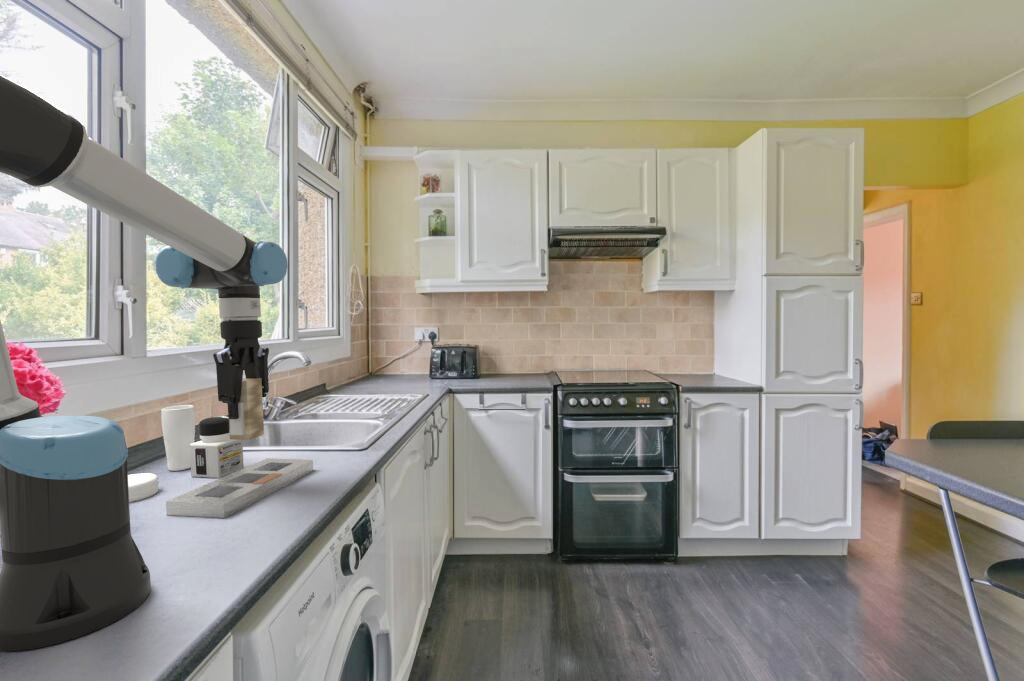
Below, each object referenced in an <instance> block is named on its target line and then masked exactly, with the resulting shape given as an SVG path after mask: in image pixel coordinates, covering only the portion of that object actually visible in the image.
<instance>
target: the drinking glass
mask: <svg viewBox="0 0 1024 681" xmlns="http://www.w3.org/2000/svg"><path fill="white" fill-rule="evenodd" d="M160 411H161V412H160V417H161V418H160V422H161V429H162V436H163V443H164V450H165V456H166V462H167V466H166V467H167V470H169V471H170V472H179V471H185V470H188V469H191V460H190V444H191V443H195V434H196V412H195V405H193V404H180V405H171V406H167V407H163V408H161V410H160Z"/></svg>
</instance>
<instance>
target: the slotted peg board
mask: <svg viewBox="0 0 1024 681" xmlns="http://www.w3.org/2000/svg"><path fill="white" fill-rule="evenodd" d="M313 471H314V460H313V459H296V458H295V459H292V458H291V459H290V458H264V459H262V460H260V461H258V462H255V463H254V464H251V465H249V466H248V465H247V466H246V467H243V469H240V470H238V471H236V472H233V473H231V474H228V475H226V476H223V477H221V478H217V479H215V480H213V481H210V482H208V483H206V484H204V485H201V486H199V487H197V488H194V489H192V490H189V491H187V492H185V493H182V494H181V495H178V496H175V497H172V498H171V499H169V500H166V501H165V509H166V510H165V511H166V512H165V513H166V515H167V516H178V517H179V516H181V517H196V518H197V517H199V518H212V519H213V518H216V519H217V518H218V519H225V518H227V517H229V516H231V515H232V514H235V513H236V512H238V511H241V510H242V509H244V508H246V507H247V506H250V505H252V504H253V503H255V502H257V501H259V500H260V499H262V498H264V497H267V496H269V495H270V494H272V493H274V492H276V491H277V490H279V489H281V488H284V487H286V486H287V485H288V484H291V483H293V482H295V481H296V480H297V479H300V478H302V477H303V476H306V475H307V474H310V473H312V472H313Z"/></svg>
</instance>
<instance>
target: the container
mask: <svg viewBox="0 0 1024 681" xmlns="http://www.w3.org/2000/svg"><path fill="white" fill-rule="evenodd" d="M198 423H199V424H198V425H199V426H198V427H199V439H200V440H198V441H196V442H195V441H194V443H191V444H190V460H191V468H190V473H191V474H190V475H191V477H192V478H209V479H211V478H212V479H213V478H214V479H220V478H222V477H225V476H227V475H229V474H232V473H234V472H236V471H239V470H241V469H243V468H245V467H244V451H243V449H244V448H243V447H244V444H243V440H236V439H230V434H229V418H228V416H212V417H211V416H210V417H207V418H203V419H202V420H200V421H199V422H198Z"/></svg>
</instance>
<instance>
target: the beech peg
mask: <svg viewBox="0 0 1024 681" xmlns="http://www.w3.org/2000/svg"><path fill="white" fill-rule="evenodd" d="M233 396H234V395H233ZM240 402H243V406H244V425H245V434H244V435H231V433H230V419H229V434H230V439H236V440H242V441H245V440H247V441H248V440H249V441H250V440H252V439H253V440H254V439H256V438H258V437H261V436H264V435H265V427H264V424H265V423H264V409H263V408H264V407H263V406H264V404H263V397H262V381H261V378H246V377H245V378H243V379H242V388H241V396H240Z"/></svg>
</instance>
